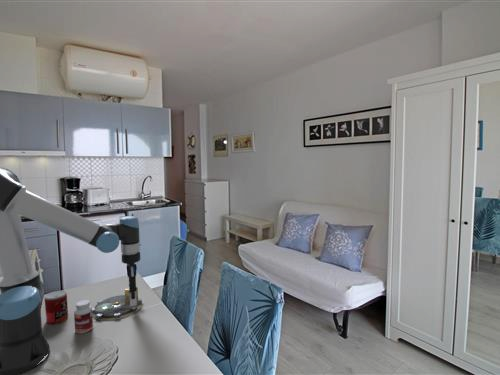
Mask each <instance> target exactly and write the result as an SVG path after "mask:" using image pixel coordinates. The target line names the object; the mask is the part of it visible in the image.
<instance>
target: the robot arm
mask: <svg viewBox="0 0 500 375" xmlns="http://www.w3.org/2000/svg"><path fill="white" fill-rule="evenodd" d="M21 216H22V217H25V218H27V219H29V220H32V221H34V222H36V223H38V224H41V225H44V226H46V227H48V228H51V229H54V230H56V231H58V232H60V233H62V234H65V235H67V236H70V237H72V238H74V239H76V240H79V241H81V242H84V243H87V244H88V245H90V246H93V247H95V248H97V250H99V251H100V252H101V253H104V254H109V253H112V252H115V250H117V249H118V248H119V245H120V253H121V262H122V264H125V265H126V272H127V277H128V288H129V289H130V290H129V291H128V293H129V295H130V306H134V305H137V299H136V289H137V287H138V286H137V281H136V280H137V278H136V277H137V269H138V267H137V263H138V262H140V261H141V246H142V243H140V224H139V218H138V217H137V216H134V215H133V216H131V215H130V216H123V217H120V218H119V221H118V222H115V223H106V224H99V223H96V222H95V221H92V220H89V219H88V218H85V217H83V216H81V215H79V214H77V213H75V212H72V211H71V210H69V209H66V208H64V207H62V206H61V205H60V206H59V205H58V204H55V203H53V202H51V201H49V200H47V199H45V198H43V197H41V196H39V195H37V194H34V193H32V192H30V191H28V190H27V188H26V186H25V185H24V184H21V181H20V179H19V177H18V175H16V173H15V172H13V170H9V169H7V168H5V167H0V271H1V275H2V280H1V281H0V375H21V374H23V373H27V372H28V371H31V370H32V369H35V368H36V367H37V366H36V365H37V364H38V363H39V362H40V361H41V360H42V359H43V358H44V356H46V355H47V354H49V353H50V354H51V350H50V344H49V342H48V340H47V338H46V336H45V335H44V332H43V327H42V325H43V324H42V306H43V305H42V304H43V300H44V299H45V295H46V289H45V285H44V283H43V281H42V279H41V276H40V272H39V271H38V270H35V269H34V268H33V264H32V260H31V256H30V251H29V247H28V244H27V239H26V235H25V231H24V227H23V222H22V219H21ZM50 354H49V355H50ZM35 366H36V367H35ZM34 367H35V368H34Z"/></svg>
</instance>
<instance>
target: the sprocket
mask: <svg viewBox="0 0 500 375" xmlns="http://www.w3.org/2000/svg"><path fill="white" fill-rule="evenodd" d="M136 287H137V289H136V299H137V305H134V306H130V295H129V293H128V291H129V290H130V289H129V287H128V288H124V294H121V295H120V294H114V295H113V296H111V297H107V298H105V299H100V300H98V301H97V304H96V305H95V306H94V307H92V313H94V312H95V314H96V318H98V319H101V318H102V317H104V318H110V317H114V318H119V317H120V316H121V315H124V314H127V313H129V312H131V311H133V312H134V311H136V310H137V306H138V304H139V303H142V304H143V299H142V298H139V288H138V286H136ZM136 312H137V311H136Z"/></svg>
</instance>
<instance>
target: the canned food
mask: <svg viewBox="0 0 500 375" xmlns="http://www.w3.org/2000/svg"><path fill="white" fill-rule="evenodd" d="M67 295H68V294H67V291H66V290H55V291H52V292H49V293H47V294H45V295H44V308H45V309H44V310H45V321H46V323H47V324H50V325H55V324H59V323H62V322H64V321H65V320H67V319H68V316H69V311H68V310H69V309H68V296H67Z"/></svg>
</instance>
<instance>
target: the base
mask: <svg viewBox="0 0 500 375" xmlns="http://www.w3.org/2000/svg"><path fill="white" fill-rule="evenodd" d="M142 305H143V302H142V303H139V304H138V306H137V310H136V311H134V312H133V311H131V312H129V313H127V314H124V315H121V316H120V317H119V318H114V317H110V318H104V317H102V318H101V319H98V318H96V314H95V312H94V313H92V317H93V320H97V321H114V320H119V319H120V320H121V319H123V318H127V317H130V316H131V315H133V314H135V313H136V312H138V311H139V310H140V308H142Z"/></svg>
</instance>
